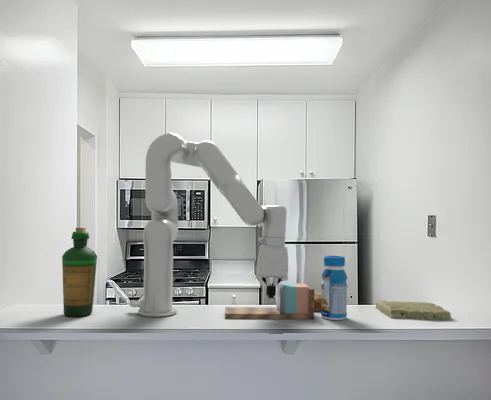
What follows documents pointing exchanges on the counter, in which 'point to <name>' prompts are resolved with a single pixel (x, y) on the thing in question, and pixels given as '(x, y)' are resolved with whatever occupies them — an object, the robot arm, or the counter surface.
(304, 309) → the salmon pink block
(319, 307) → the bread roll
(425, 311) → the decorative tile
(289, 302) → the teal rectangular block
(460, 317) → the counter surface
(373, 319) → the counter surface
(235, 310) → the wooden book rack
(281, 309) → the bookend
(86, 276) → the bottle
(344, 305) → the beverage bottle
